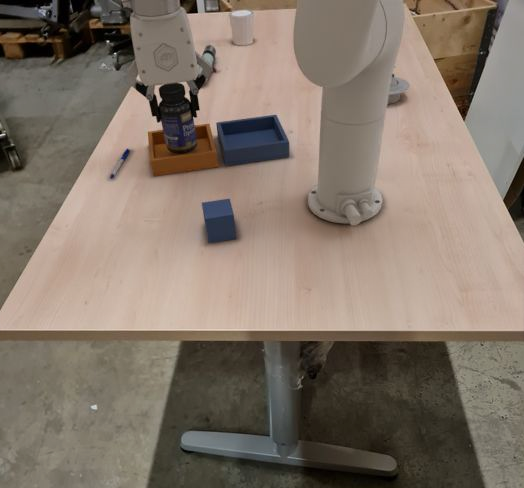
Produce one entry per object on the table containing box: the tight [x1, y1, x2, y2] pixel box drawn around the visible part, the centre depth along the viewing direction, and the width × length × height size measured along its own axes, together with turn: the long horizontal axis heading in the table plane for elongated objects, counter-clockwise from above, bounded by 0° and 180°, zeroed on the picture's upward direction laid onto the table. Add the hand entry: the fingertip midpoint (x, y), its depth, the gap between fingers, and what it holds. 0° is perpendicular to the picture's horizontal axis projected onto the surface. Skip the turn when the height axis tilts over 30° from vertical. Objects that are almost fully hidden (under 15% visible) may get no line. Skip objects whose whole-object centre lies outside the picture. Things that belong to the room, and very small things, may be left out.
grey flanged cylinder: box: [387, 66, 410, 105], centre depth 104 cm, size 12×10×10 cm
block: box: [201, 198, 237, 244], centre depth 77 cm, size 5×5×5 cm
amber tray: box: [147, 123, 219, 177], centre depth 95 cm, size 12×13×3 cm
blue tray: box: [215, 114, 290, 167], centre depth 96 cm, size 12×13×3 cm
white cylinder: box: [228, 9, 255, 46], centre depth 134 cm, size 7×7×7 cm
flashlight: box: [197, 44, 218, 86], centre depth 123 cm, size 3×4×20 cm
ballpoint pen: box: [109, 148, 131, 179], centre depth 95 cm, size 10×1×1 cm, turn 173°
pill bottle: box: [158, 82, 197, 154], centre depth 90 cm, size 6×6×11 cm
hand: (176, 116), depth 90 cm, fingers closed on pill bottle, 6 cm apart
